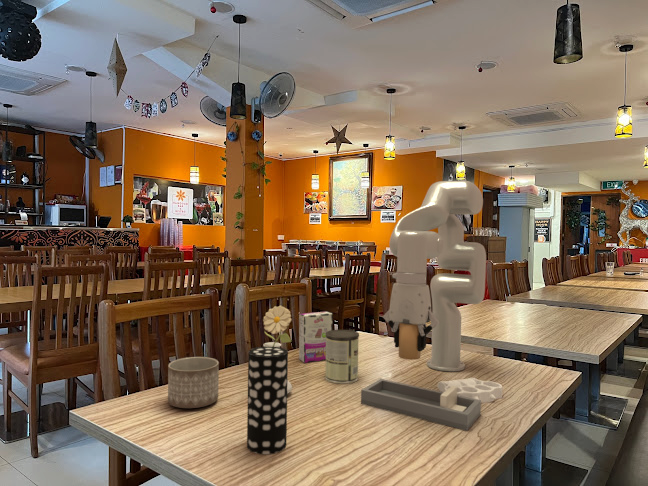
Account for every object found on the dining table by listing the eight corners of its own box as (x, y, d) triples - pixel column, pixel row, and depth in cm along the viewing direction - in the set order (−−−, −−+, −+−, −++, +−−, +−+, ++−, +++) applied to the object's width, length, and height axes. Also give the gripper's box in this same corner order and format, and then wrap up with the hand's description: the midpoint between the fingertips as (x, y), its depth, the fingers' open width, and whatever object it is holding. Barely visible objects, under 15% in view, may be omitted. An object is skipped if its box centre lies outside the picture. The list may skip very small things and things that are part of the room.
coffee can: (326, 372, 149) (327, 328, 149) (358, 374, 148) (359, 330, 148) (323, 383, 139) (323, 336, 138) (357, 384, 138) (358, 337, 137)
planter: (167, 397, 125) (167, 358, 125) (215, 392, 130) (215, 355, 129) (168, 414, 114) (168, 372, 113) (221, 409, 118) (221, 368, 118)
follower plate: (451, 404, 120) (451, 385, 120) (468, 408, 117) (469, 389, 117) (439, 415, 113) (440, 395, 113) (458, 420, 110) (458, 399, 110)
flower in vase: (242, 393, 129) (243, 303, 128) (273, 383, 137) (274, 299, 137) (273, 406, 120) (274, 310, 119) (304, 395, 128) (306, 305, 128)
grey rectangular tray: (380, 391, 133) (380, 378, 132) (480, 414, 117) (480, 400, 117) (360, 403, 123) (361, 389, 123) (467, 430, 108) (467, 414, 108)
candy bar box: (326, 356, 168) (326, 311, 168) (332, 359, 164) (333, 313, 163) (297, 359, 163) (298, 313, 163) (303, 363, 159) (304, 315, 158)
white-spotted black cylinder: (248, 436, 103) (249, 346, 102) (286, 435, 103) (287, 346, 103) (245, 454, 94) (246, 357, 94) (286, 453, 95) (288, 357, 94)
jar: (403, 352, 125) (404, 314, 125) (424, 356, 122) (425, 317, 122) (394, 357, 120) (395, 317, 120) (415, 361, 117) (416, 320, 117)
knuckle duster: (478, 385, 141) (514, 402, 127) (427, 391, 134) (459, 410, 121) (478, 374, 141) (514, 390, 127) (427, 380, 134) (459, 397, 121)
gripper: (375, 277, 122) (373, 346, 123) (438, 282, 113) (436, 357, 113) (387, 275, 129) (386, 340, 129) (448, 280, 119) (446, 350, 120)
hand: (409, 347), depth 121 cm, fingers closed on jar, 5 cm apart
